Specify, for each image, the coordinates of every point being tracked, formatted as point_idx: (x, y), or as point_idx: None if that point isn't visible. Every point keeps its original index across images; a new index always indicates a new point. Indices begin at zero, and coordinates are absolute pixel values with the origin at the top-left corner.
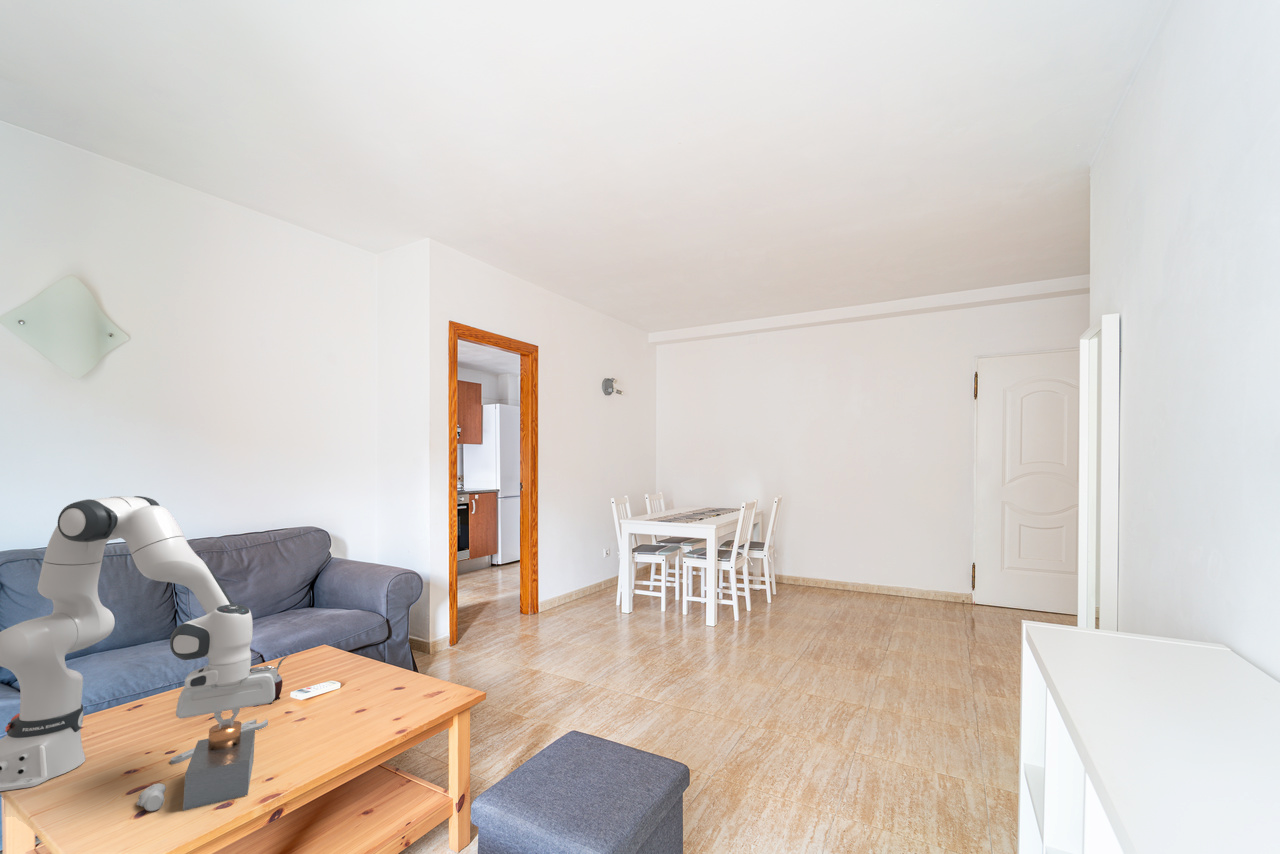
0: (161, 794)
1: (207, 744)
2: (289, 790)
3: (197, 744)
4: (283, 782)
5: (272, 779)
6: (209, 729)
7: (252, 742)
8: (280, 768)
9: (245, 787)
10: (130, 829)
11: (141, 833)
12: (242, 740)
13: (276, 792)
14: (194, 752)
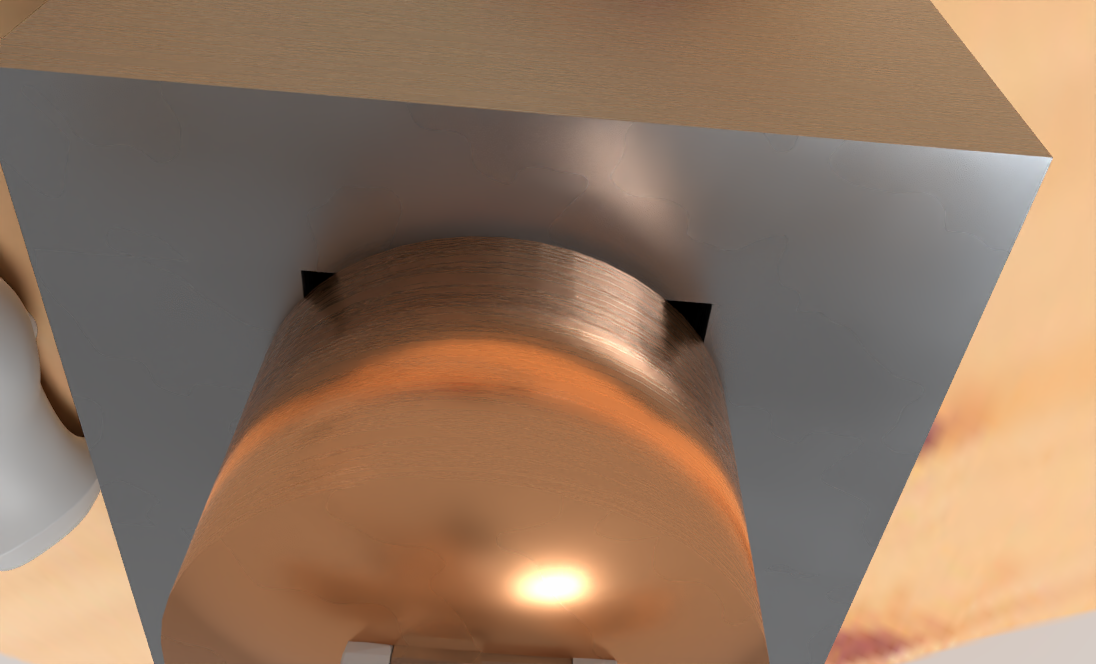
0: (55, 526)
1: (229, 342)
2: (958, 641)
3: (45, 258)
4: (969, 539)
5: (918, 460)
6: (167, 655)
7: (852, 592)
8: (1054, 311)
9: None
10: (18, 577)
11: (115, 638)
12: (746, 476)
13: (879, 624)
14: (117, 502)
